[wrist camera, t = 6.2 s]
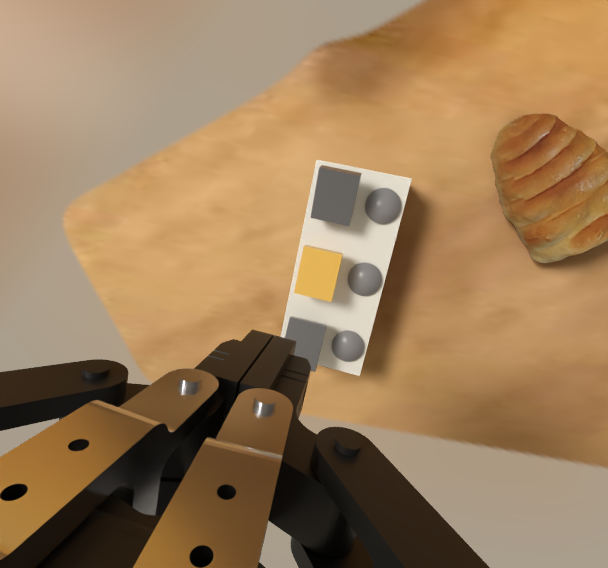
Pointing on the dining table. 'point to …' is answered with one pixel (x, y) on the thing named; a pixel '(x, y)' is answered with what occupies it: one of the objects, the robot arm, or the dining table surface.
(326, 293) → the rocker middle
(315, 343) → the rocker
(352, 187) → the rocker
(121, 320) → the dining table surface
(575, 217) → the pastry
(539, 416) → the dining table surface
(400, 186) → the white switch panel
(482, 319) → the dining table surface
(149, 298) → the dining table surface
